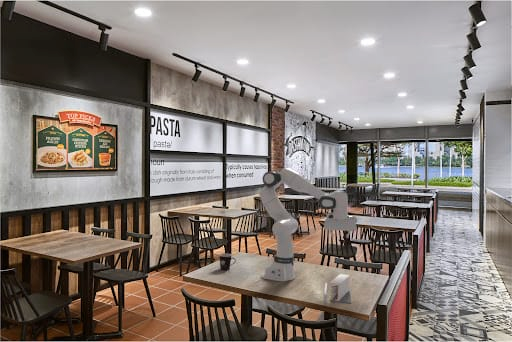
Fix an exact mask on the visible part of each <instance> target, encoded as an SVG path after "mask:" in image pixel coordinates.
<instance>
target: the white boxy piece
mask: <svg viewBox="0 0 512 342" xmlns="http://www.w3.org/2000/svg"><path fill="white" fill-rule="evenodd" d="M329 284H333V285H334V286H330V297H329V300H332V301H333V300H336V301H340V299H341V298H342V297H343V296H344V295H345V294H346V293H347V292H348V291H349V290H350V275H349V274H344V273H343V274H342V273H340V274H338V275H337V276H336V277H335V278H333V279H332V280H330V282H329Z"/></svg>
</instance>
